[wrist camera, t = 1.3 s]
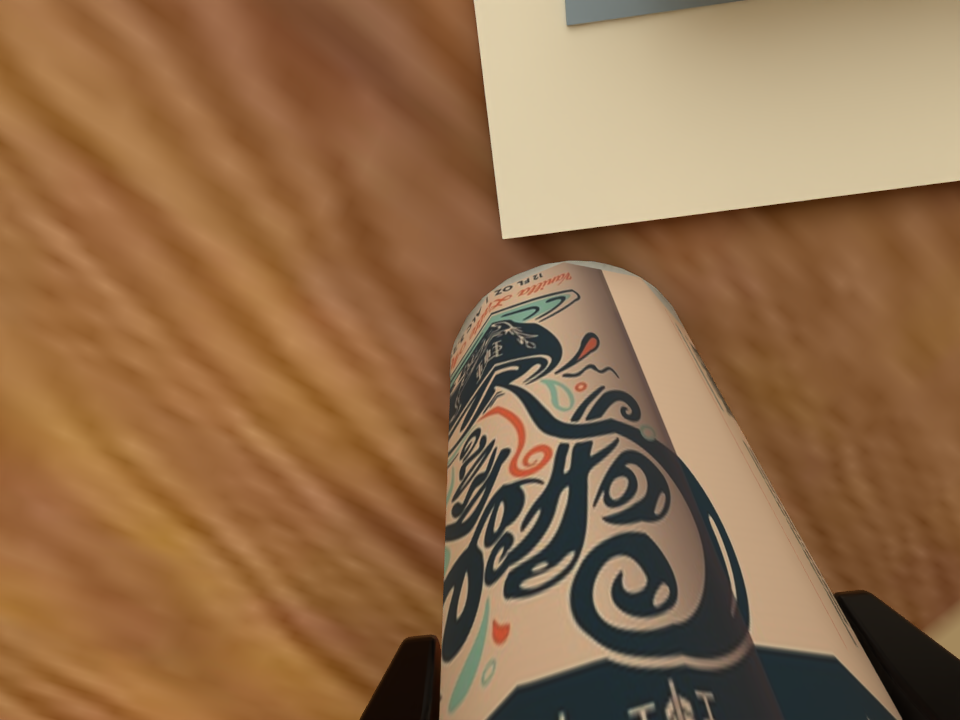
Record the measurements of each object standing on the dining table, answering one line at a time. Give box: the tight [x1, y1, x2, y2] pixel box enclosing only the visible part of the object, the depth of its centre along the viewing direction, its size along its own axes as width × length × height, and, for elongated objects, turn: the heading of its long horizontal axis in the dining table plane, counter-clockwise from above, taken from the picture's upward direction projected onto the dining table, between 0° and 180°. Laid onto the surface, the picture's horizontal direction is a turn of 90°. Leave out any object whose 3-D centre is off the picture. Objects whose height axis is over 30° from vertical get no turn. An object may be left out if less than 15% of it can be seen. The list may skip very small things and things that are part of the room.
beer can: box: [439, 261, 903, 720], centre depth 10 cm, size 5×5×12 cm
